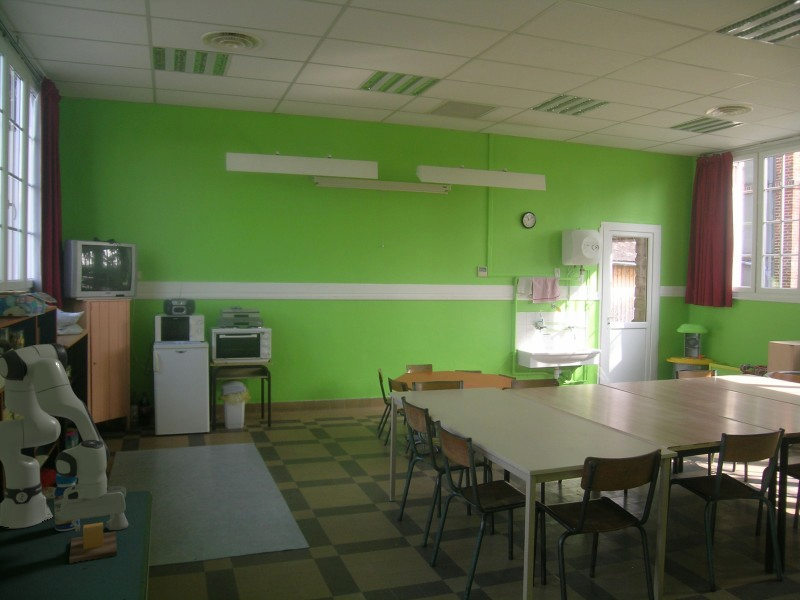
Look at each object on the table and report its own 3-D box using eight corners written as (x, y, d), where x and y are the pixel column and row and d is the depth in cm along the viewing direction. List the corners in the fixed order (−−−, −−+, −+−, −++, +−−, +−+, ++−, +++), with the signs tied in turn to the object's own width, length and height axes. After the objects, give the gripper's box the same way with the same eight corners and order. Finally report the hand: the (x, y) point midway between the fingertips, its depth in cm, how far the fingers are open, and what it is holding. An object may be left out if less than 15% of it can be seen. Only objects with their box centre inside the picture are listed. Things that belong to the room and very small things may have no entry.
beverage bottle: (85, 523, 242) (83, 470, 241) (71, 532, 234) (70, 477, 233) (63, 522, 243) (62, 469, 242) (49, 531, 234) (47, 476, 234)
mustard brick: (84, 542, 221) (83, 525, 221) (103, 539, 223) (102, 522, 223) (83, 549, 215) (83, 531, 215) (103, 545, 218) (102, 528, 218)
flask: (128, 529, 236) (128, 502, 236) (107, 532, 233) (106, 505, 233) (129, 522, 243) (128, 496, 243) (108, 525, 240) (107, 498, 240)
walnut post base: (71, 542, 224) (71, 527, 224) (115, 535, 230) (115, 520, 230) (69, 563, 208) (68, 546, 208) (116, 555, 214) (116, 539, 214)
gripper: (125, 482, 226) (126, 520, 227) (59, 490, 217) (60, 530, 218) (126, 487, 220) (127, 527, 221) (58, 496, 212) (59, 537, 212)
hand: (93, 529), depth 219 cm, fingers open, 8 cm apart
